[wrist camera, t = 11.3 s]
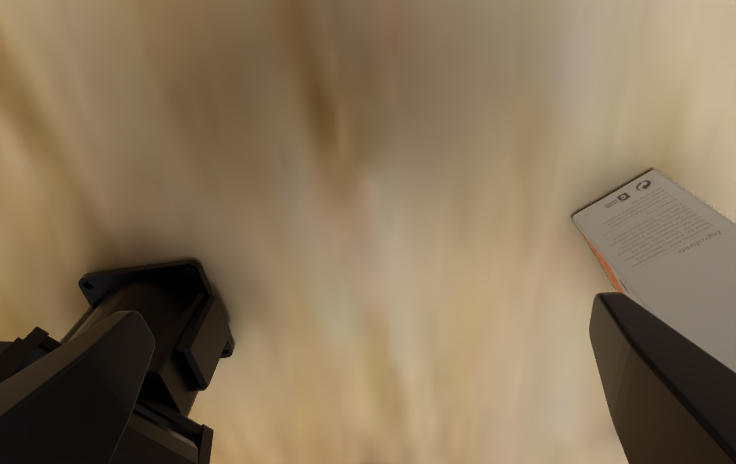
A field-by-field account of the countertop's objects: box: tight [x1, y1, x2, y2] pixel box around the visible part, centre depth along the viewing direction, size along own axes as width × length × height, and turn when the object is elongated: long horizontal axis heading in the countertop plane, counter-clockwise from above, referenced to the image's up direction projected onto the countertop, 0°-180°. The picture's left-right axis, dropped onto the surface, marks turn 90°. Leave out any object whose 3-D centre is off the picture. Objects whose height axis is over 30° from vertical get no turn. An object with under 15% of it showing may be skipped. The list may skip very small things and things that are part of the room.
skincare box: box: [573, 170, 736, 372], centre depth 17 cm, size 6×4×12 cm
